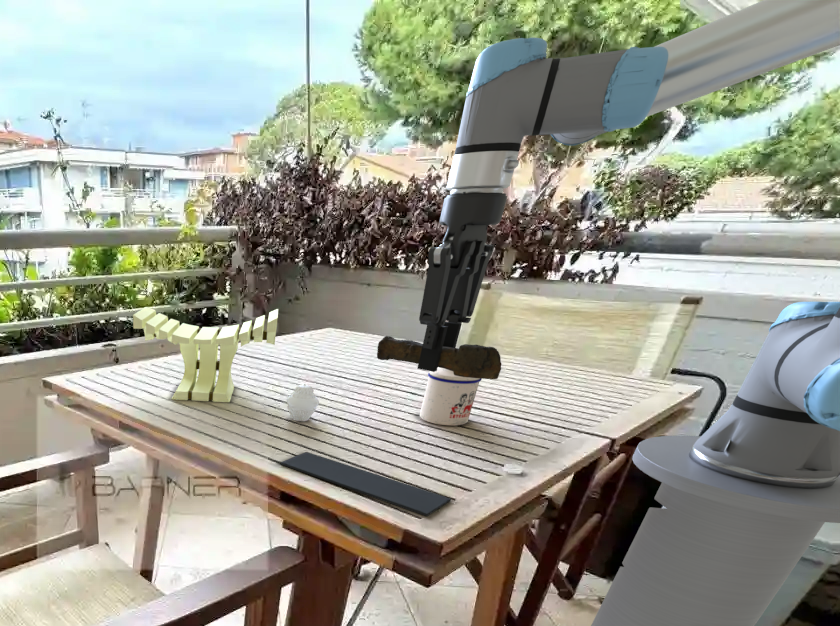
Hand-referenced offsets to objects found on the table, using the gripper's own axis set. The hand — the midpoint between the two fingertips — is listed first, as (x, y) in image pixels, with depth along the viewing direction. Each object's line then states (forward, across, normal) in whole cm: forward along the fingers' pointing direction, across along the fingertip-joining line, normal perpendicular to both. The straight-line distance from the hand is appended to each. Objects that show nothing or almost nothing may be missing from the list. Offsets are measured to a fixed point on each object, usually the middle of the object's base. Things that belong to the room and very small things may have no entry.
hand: (434, 367), depth 85 cm
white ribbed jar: (+15, 0, +24) cm, 28 cm away
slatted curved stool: (+15, -2, +52) cm, 54 cm away
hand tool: (+1, 0, 0) cm, 1 cm away
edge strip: (+14, -16, -1) cm, 22 cm away
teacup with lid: (+15, +24, +7) cm, 29 cm away
